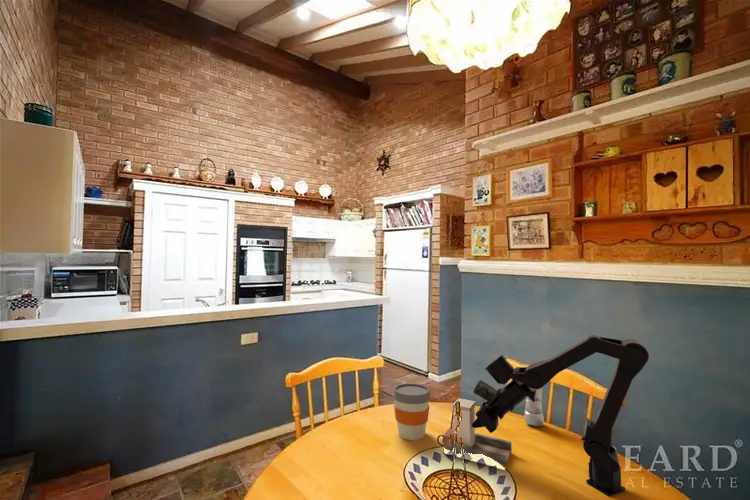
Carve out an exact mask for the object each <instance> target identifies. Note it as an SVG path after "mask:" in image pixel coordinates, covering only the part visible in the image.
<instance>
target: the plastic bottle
mask: <svg viewBox="0 0 750 500" xmlns="http://www.w3.org/2000/svg"><path fill="white" fill-rule="evenodd" d="M543 388H544V386H543V387H542V388H540V389H537V390H536V399H535V402H533V401H532V400H531V399H530V398H529V397H527V398H525V409H524V414H523V417H524V421H525V423H526V424H527V425H530V426H532V427H542V426H543V424H544V420H545V418H544V413H543V406H542V402H543V401H542V400H543V399H542V397H543V390H544V389H543ZM531 389H532V388H531ZM533 390H535V389H533Z"/></svg>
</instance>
